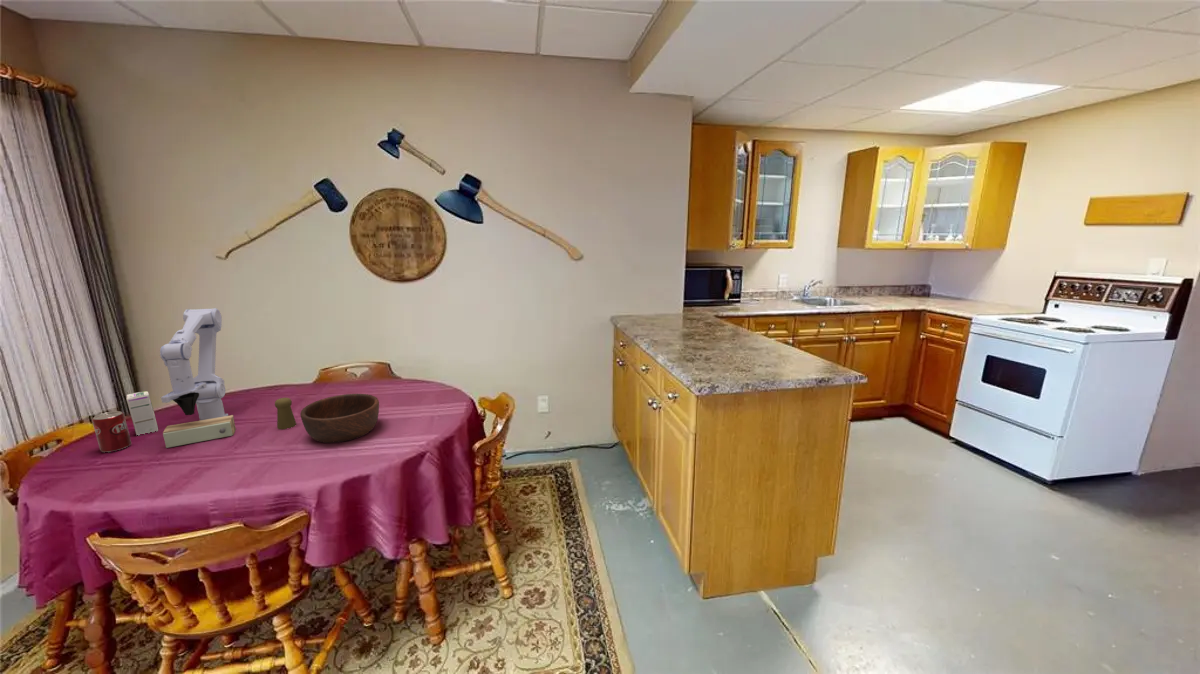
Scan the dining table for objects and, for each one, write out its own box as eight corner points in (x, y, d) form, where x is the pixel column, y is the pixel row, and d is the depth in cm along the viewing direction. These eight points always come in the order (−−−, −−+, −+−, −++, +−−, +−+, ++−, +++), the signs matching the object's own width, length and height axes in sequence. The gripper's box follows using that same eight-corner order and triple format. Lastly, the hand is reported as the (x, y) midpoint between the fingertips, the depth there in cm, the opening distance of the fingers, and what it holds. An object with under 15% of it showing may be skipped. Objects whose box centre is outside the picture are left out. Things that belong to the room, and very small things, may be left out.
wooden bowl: (295, 431, 165) (291, 405, 163) (366, 412, 183) (363, 388, 181) (316, 454, 149) (312, 426, 146) (392, 431, 167) (389, 405, 164)
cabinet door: (166, 446, 152) (163, 433, 151) (232, 434, 162) (230, 421, 160) (165, 449, 150) (162, 435, 149) (231, 436, 160) (229, 423, 159)
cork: (286, 430, 166) (282, 402, 163) (273, 428, 167) (268, 400, 165) (300, 423, 172) (296, 396, 169) (287, 421, 173) (283, 395, 170)
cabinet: (170, 440, 157) (167, 425, 156) (235, 428, 167) (233, 415, 165) (166, 447, 152) (162, 432, 151) (233, 434, 162) (230, 420, 161)
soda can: (96, 455, 147) (86, 421, 144) (106, 445, 153) (98, 413, 150) (126, 450, 150) (117, 417, 147) (135, 441, 156) (127, 409, 153)
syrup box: (158, 431, 164) (149, 394, 161) (135, 436, 160) (126, 398, 156) (157, 426, 168) (148, 390, 164) (135, 431, 164) (125, 394, 160)
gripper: (172, 384, 146) (181, 423, 149) (211, 371, 160) (218, 406, 163) (151, 384, 146) (160, 422, 149) (192, 370, 160) (200, 406, 163)
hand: (189, 414), depth 156 cm, fingers closed
